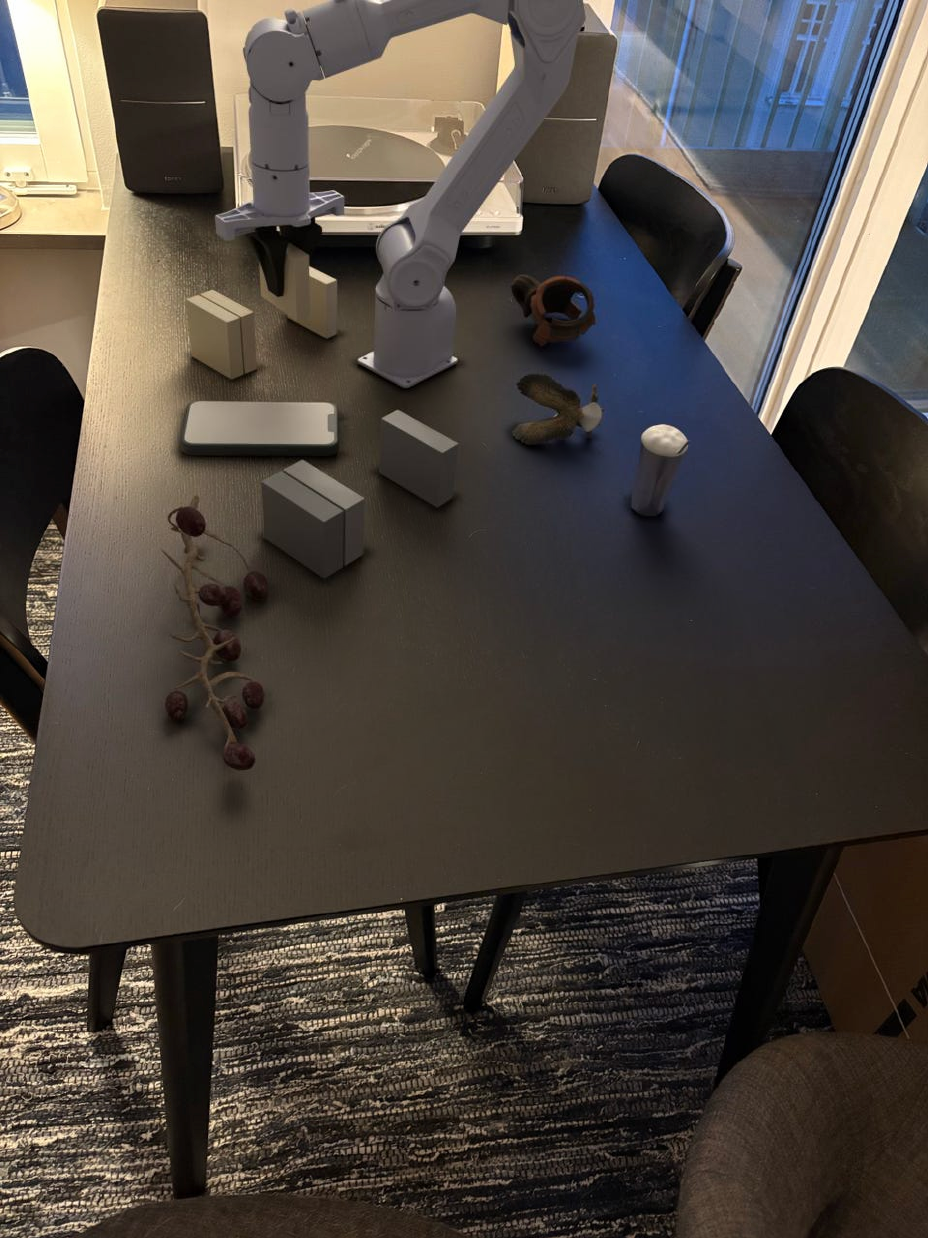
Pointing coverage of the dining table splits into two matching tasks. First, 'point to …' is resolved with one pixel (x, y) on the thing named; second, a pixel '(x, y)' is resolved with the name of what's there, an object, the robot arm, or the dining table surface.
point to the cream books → (249, 326)
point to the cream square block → (292, 285)
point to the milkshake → (657, 468)
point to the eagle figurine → (561, 401)
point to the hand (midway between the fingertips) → (284, 290)
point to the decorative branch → (215, 637)
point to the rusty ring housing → (554, 306)
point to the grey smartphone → (260, 428)
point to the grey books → (352, 495)
